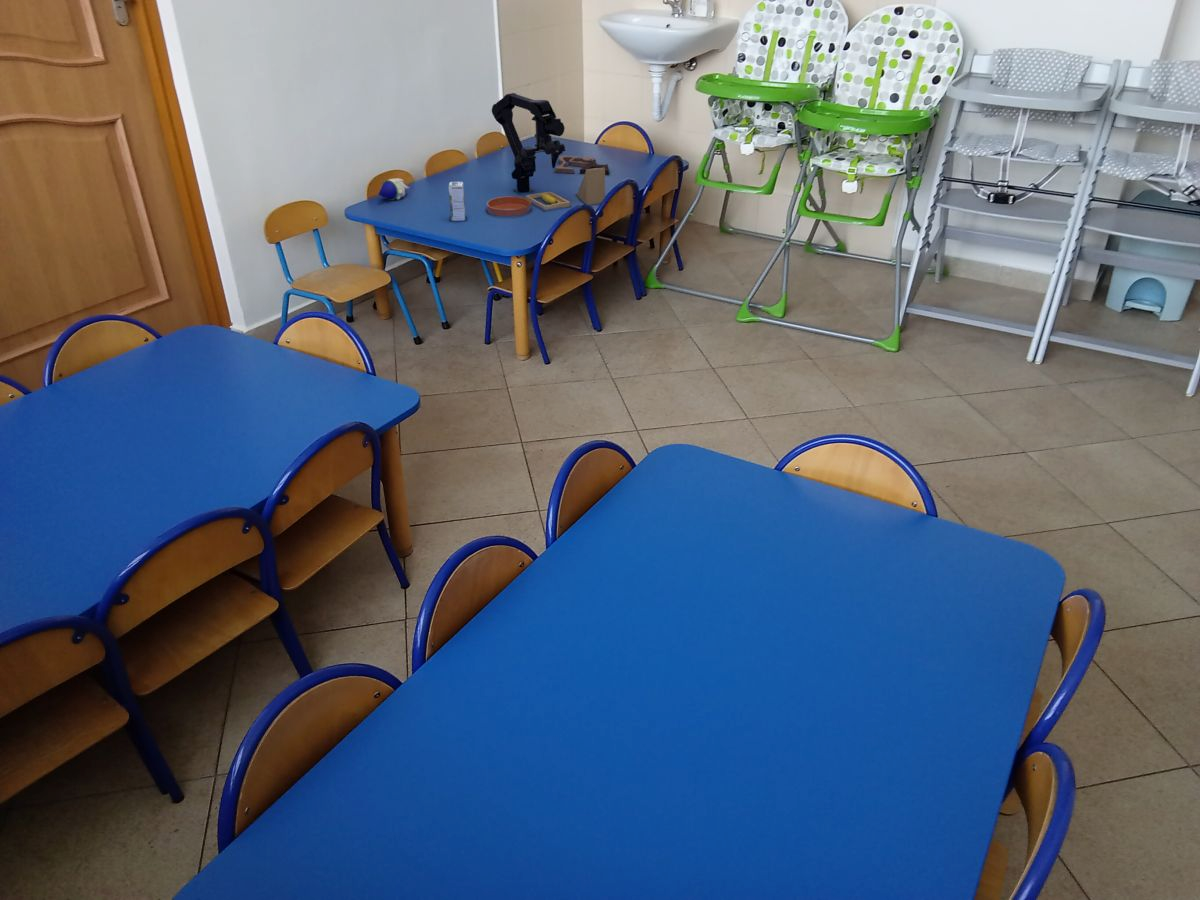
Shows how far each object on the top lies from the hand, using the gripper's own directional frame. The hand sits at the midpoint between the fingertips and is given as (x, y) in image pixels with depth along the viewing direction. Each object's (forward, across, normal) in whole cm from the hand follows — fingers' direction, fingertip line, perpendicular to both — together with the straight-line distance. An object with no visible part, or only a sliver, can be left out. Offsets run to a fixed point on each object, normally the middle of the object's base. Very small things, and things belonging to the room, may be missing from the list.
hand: (544, 169), depth 384 cm
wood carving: (+12, +39, +33) cm, 53 cm away
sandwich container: (+12, +16, -12) cm, 23 cm away
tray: (+12, -3, -8) cm, 15 cm away
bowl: (+12, -22, -8) cm, 26 cm away
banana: (+12, -3, -8) cm, 14 cm away
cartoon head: (+12, -57, +33) cm, 67 cm away
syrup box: (+12, -44, -7) cm, 46 cm away
